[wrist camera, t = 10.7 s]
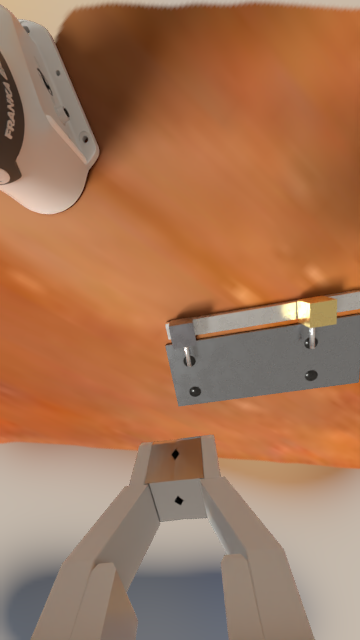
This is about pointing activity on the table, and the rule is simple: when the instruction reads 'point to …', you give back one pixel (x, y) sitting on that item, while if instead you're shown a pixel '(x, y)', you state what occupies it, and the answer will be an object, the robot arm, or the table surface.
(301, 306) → the sliding head
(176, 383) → the flange plate
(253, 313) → the trammel beam
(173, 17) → the table surface
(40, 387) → the table surface
